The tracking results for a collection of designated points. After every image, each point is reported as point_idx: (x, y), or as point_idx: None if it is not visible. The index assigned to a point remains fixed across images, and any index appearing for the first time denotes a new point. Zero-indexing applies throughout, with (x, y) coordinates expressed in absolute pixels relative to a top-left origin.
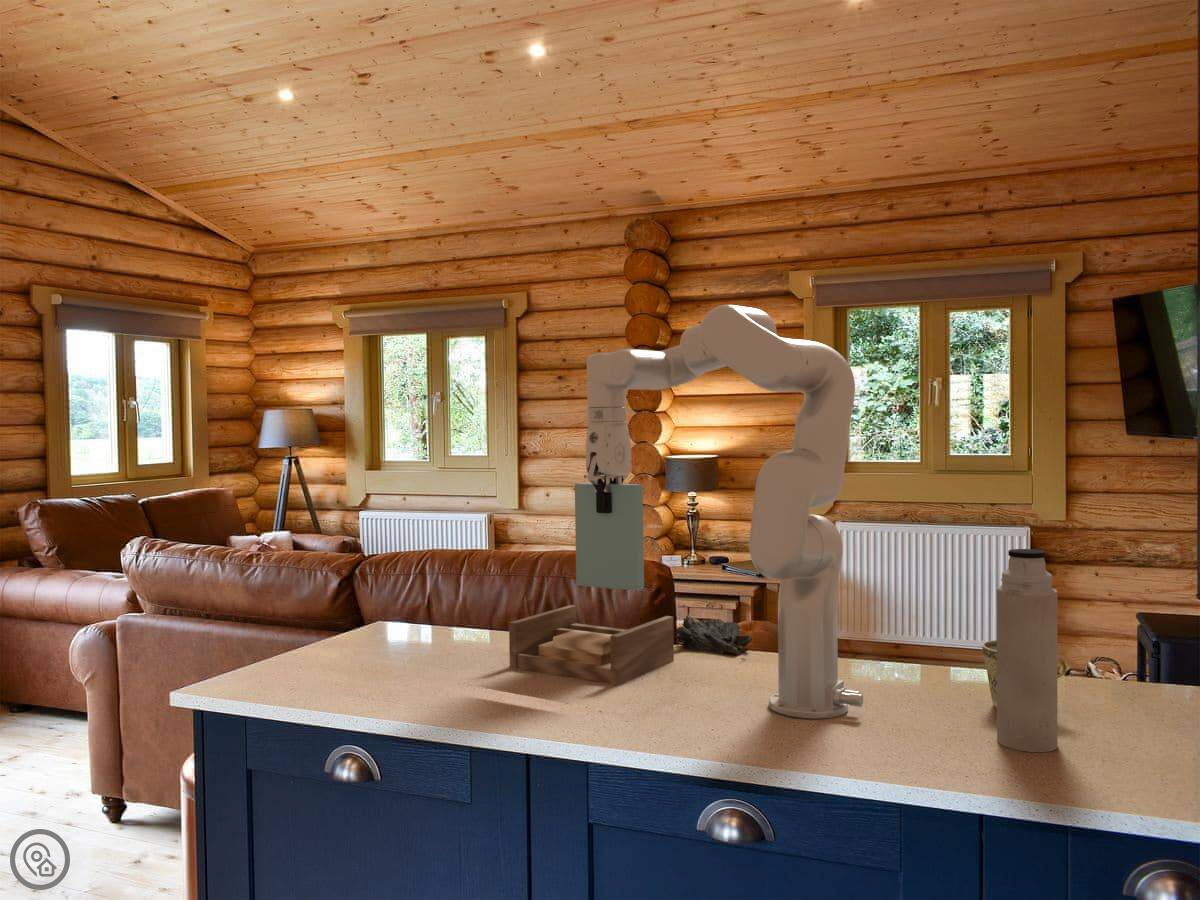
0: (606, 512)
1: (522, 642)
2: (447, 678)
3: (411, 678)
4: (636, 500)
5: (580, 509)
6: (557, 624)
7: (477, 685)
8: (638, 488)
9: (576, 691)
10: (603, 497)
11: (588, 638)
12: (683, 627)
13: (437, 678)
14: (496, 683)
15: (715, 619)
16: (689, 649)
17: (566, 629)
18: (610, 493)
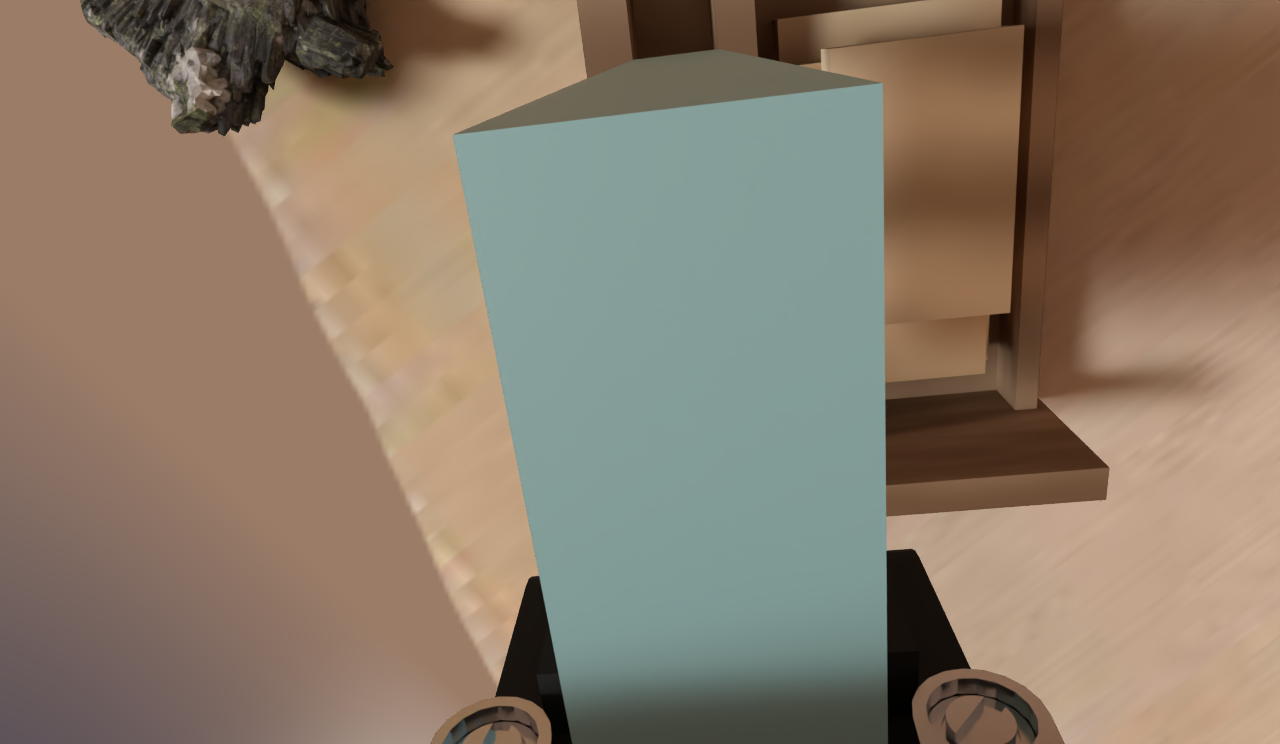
0: None
1: (1019, 429)
2: (1142, 533)
3: (1193, 614)
4: (784, 71)
5: None
6: None
7: (1174, 402)
8: (704, 95)
9: (1083, 59)
10: (960, 664)
11: (957, 160)
12: (327, 52)
13: (1157, 556)
14: (1122, 370)
15: (85, 10)
16: (365, 13)
17: None
18: (900, 636)
